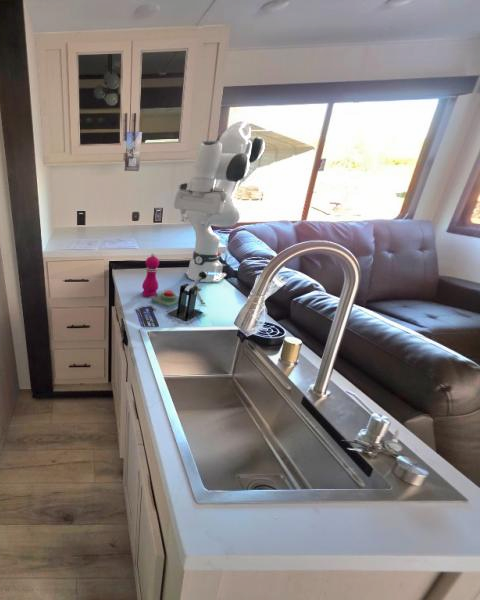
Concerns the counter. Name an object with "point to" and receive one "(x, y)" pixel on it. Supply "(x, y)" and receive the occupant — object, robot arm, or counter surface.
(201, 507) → the counter surface
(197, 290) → the soupspoon
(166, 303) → the button box
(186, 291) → the lever
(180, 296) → the bracket
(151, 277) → the pepper mill
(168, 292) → the button
